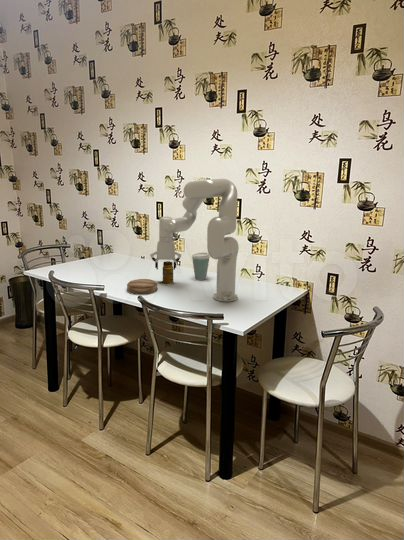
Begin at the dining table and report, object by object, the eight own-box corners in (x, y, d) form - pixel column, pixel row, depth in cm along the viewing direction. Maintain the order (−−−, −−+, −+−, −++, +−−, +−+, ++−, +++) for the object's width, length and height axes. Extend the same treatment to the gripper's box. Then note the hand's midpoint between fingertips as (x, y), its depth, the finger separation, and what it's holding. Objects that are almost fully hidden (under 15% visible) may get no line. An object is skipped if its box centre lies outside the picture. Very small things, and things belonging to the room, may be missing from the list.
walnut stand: (157, 294, 224) (156, 287, 223) (125, 294, 222) (125, 287, 221) (157, 285, 239) (157, 278, 238) (128, 285, 238) (128, 278, 237)
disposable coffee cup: (194, 281, 247) (194, 256, 243) (189, 276, 257) (189, 252, 253) (211, 280, 250) (212, 255, 246) (206, 275, 260) (207, 251, 256)
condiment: (176, 283, 244) (176, 262, 241) (163, 285, 239) (162, 264, 236) (169, 280, 250) (169, 260, 246) (156, 282, 245) (156, 261, 242)
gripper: (181, 238, 242) (180, 267, 247) (150, 237, 241) (150, 267, 245) (181, 241, 235) (181, 271, 240) (150, 240, 234) (150, 270, 238)
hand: (165, 269), depth 243 cm, fingers open, 9 cm apart
